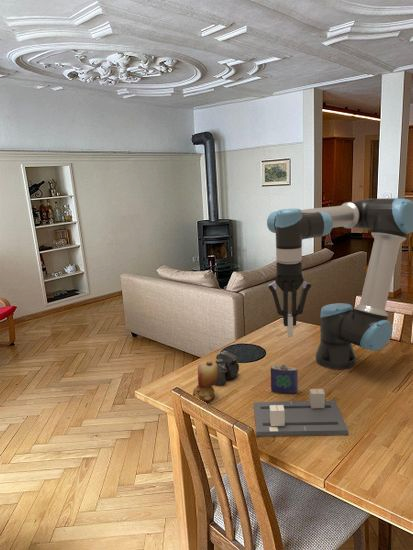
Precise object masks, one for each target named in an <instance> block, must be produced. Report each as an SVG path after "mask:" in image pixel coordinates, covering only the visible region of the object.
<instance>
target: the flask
mask: <svg viewBox="0 0 413 550" xmlns="http://www.w3.org/2000/svg"><path fill="white" fill-rule="evenodd" d="M286 365H287V363H286V362H283V363H282V364H281V365H280V366H279V365H276V364H275V365H272V366H271V367H270V388H271V390H270V391H271V392H272V393H274V394H283V395H287V394H288V395H297V394H298V392H299V385H298V384H299V382H298V381H299V380H298V378H299V377H298V374H299V373H298V372H299V371H298V370H299V369H298V367H295V366H294V367H290V366H289V367H287V366H286Z"/></svg>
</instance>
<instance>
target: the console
mask: <svg viewBox="0 0 413 550" xmlns="http://www.w3.org/2000/svg"><path fill="white" fill-rule="evenodd" d="M270 405H283V406H284V414H285V426H271V424H270ZM253 414H254V422H255V431H256V433H255V434H256V437H288V436H289V437H292V436H293V437H294V436H295V437H297V436H298V437H299V436H300V437H302V436H306V437H308V436H311V437H312V436H348V435H349V429H348V427H347V424H346V422H345V420H344V418H343V416H342V413H341V411H340V409H339V407H338V405H337V402H336V401H335V400H325V408H311V406H310V400H301V401H299V400H298V401H297V400H295V401H292V400H289V401H253Z"/></svg>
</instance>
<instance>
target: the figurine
mask: <svg viewBox="0 0 413 550" xmlns="http://www.w3.org/2000/svg"><path fill="white" fill-rule="evenodd" d="M217 378H218V365H217V363H215V362H213V361H212V360H210V359H209V360H207V361H206V363H200V364H197V385H196V387H195V388H193V392H192V396H193V397H194V396H195V397H197V398H199V399H200V400H202V401H204V402H205V403H208V402H211V401H213V400H214V398H215V389H214V386H215V383H216V381H217Z"/></svg>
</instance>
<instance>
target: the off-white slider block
mask: <svg viewBox="0 0 413 550" xmlns="http://www.w3.org/2000/svg"><path fill="white" fill-rule="evenodd" d="M325 395H326V394H325V390H324V389H323V388H310V389H309V401H310V406H311V408H325V401H326V397H325Z"/></svg>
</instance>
